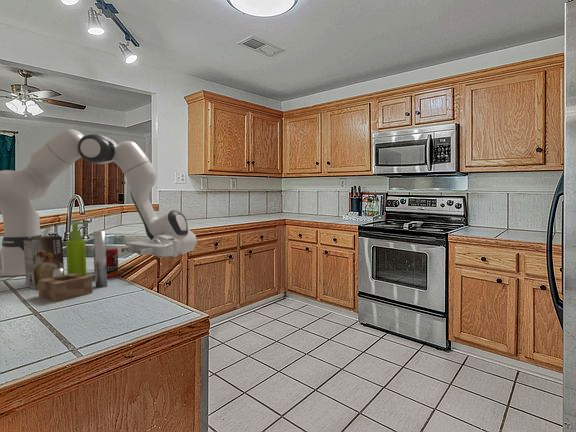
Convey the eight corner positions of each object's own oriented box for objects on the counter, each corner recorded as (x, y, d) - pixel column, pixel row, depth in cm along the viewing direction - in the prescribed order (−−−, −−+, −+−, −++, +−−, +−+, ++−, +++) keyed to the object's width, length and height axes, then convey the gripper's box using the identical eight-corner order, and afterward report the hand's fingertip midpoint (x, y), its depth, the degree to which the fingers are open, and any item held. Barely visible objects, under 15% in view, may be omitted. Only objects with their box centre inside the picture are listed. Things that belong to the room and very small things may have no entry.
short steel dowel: (50, 287, 112) (49, 268, 112) (61, 284, 115) (60, 266, 115) (55, 288, 110) (55, 270, 110) (66, 286, 113) (66, 268, 113)
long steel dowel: (93, 286, 112) (91, 231, 111) (103, 284, 115) (101, 230, 114) (99, 288, 111) (97, 232, 110) (109, 285, 114) (107, 231, 113)
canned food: (108, 279, 122) (107, 248, 121) (89, 278, 123) (88, 248, 123) (123, 274, 129) (122, 245, 128) (104, 273, 131) (103, 245, 130)
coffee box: (56, 280, 120) (54, 235, 119) (65, 283, 117) (63, 236, 116) (25, 286, 113) (22, 237, 112) (34, 289, 109) (31, 239, 108)
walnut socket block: (39, 296, 102) (38, 279, 101) (73, 288, 110) (73, 273, 110) (57, 301, 97) (56, 284, 96) (92, 292, 105) (91, 276, 105)
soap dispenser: (91, 276, 127) (89, 222, 126) (70, 279, 122) (68, 223, 120) (86, 273, 131) (84, 221, 130) (65, 277, 126) (63, 222, 124)
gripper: (144, 236, 139) (112, 240, 127) (180, 239, 129) (149, 244, 117) (144, 252, 140) (112, 257, 128) (180, 256, 130) (150, 262, 118)
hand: (130, 251), depth 122 cm, fingers open, 8 cm apart
